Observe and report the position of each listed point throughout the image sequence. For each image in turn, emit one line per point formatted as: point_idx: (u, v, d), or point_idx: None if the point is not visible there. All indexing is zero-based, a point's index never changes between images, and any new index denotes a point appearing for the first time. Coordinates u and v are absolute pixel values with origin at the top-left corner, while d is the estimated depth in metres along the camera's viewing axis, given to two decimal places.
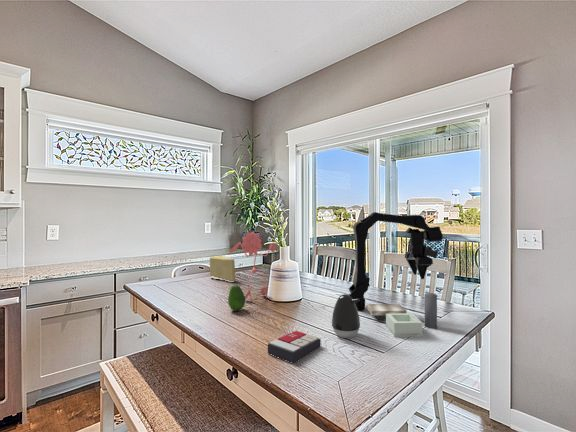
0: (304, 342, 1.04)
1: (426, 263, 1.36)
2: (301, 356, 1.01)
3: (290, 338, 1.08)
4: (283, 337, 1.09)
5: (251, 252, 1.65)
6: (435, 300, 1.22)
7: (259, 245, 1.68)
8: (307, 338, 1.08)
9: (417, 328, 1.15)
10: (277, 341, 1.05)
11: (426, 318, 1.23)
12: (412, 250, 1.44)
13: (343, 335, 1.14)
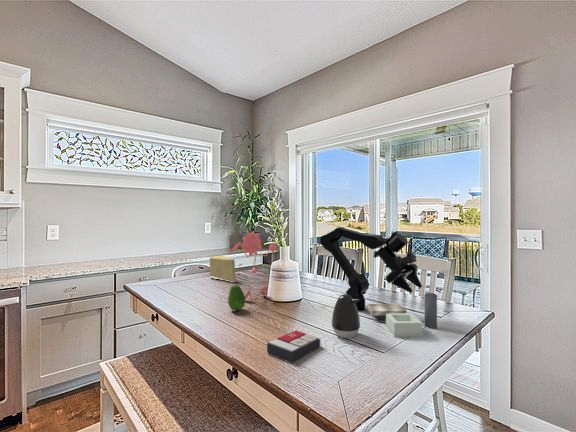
0: (303, 342, 1.05)
1: (393, 277, 1.25)
2: (300, 356, 1.01)
3: (290, 338, 1.08)
4: (283, 337, 1.09)
5: (251, 252, 1.65)
6: (435, 300, 1.22)
7: (259, 245, 1.68)
8: (307, 338, 1.08)
9: (417, 328, 1.15)
10: (276, 341, 1.06)
11: (426, 318, 1.23)
12: (390, 269, 1.34)
13: (343, 335, 1.14)
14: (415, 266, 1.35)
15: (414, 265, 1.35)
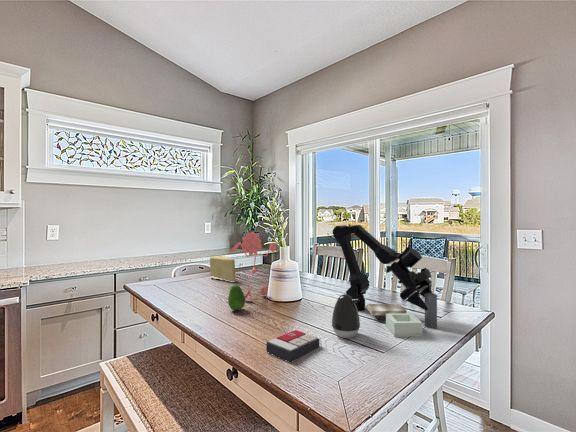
0: (302, 341, 1.05)
1: (407, 294, 1.21)
2: (299, 355, 1.01)
3: (289, 337, 1.08)
4: (282, 336, 1.09)
5: (251, 252, 1.65)
6: (435, 300, 1.22)
7: (259, 245, 1.68)
8: (306, 338, 1.08)
9: (417, 328, 1.15)
10: (276, 340, 1.06)
11: (426, 318, 1.23)
12: (404, 285, 1.30)
13: (343, 335, 1.14)
14: (429, 281, 1.31)
15: (428, 280, 1.31)
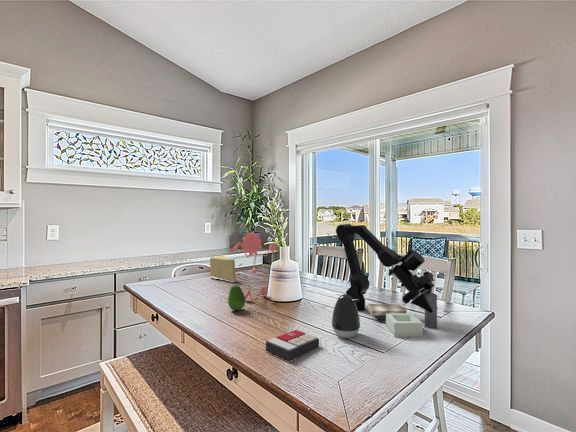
0: (301, 341, 1.05)
1: (410, 298, 1.20)
2: (297, 355, 1.01)
3: (289, 337, 1.09)
4: (282, 336, 1.10)
5: (251, 252, 1.65)
6: (435, 300, 1.22)
7: (259, 245, 1.68)
8: (305, 337, 1.08)
9: (417, 328, 1.15)
10: (275, 339, 1.07)
11: (426, 318, 1.23)
12: (406, 288, 1.30)
13: (343, 335, 1.14)
14: (432, 285, 1.30)
15: (431, 284, 1.31)
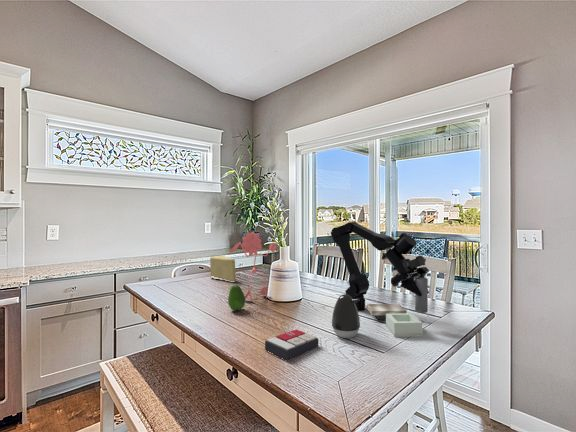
0: (300, 341, 1.05)
1: (397, 281, 1.19)
2: (296, 354, 1.02)
3: (288, 336, 1.09)
4: (281, 335, 1.10)
5: (251, 252, 1.65)
6: (425, 284, 1.20)
7: (259, 245, 1.68)
8: (305, 337, 1.09)
9: (417, 328, 1.15)
10: (274, 339, 1.07)
11: (416, 302, 1.22)
12: None
13: (343, 335, 1.14)
14: (426, 270, 1.28)
15: (425, 269, 1.28)
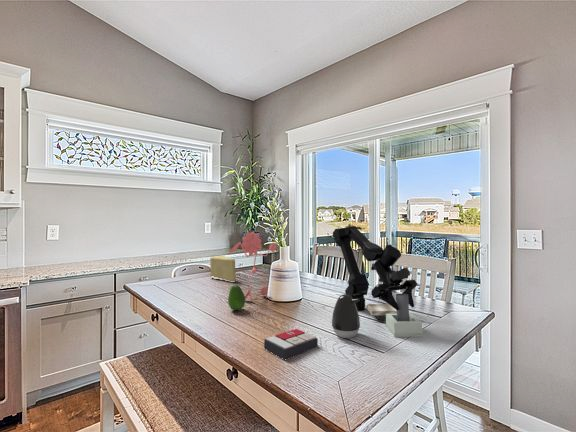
0: (299, 340, 1.06)
1: (376, 292, 1.20)
2: (294, 354, 1.02)
3: (287, 335, 1.10)
4: (281, 334, 1.11)
5: (251, 252, 1.65)
6: (404, 300, 1.18)
7: (259, 245, 1.68)
8: (304, 337, 1.09)
9: (417, 328, 1.15)
10: (273, 337, 1.08)
11: (397, 319, 1.20)
12: None
13: (343, 335, 1.14)
14: (413, 283, 1.25)
15: (412, 282, 1.25)
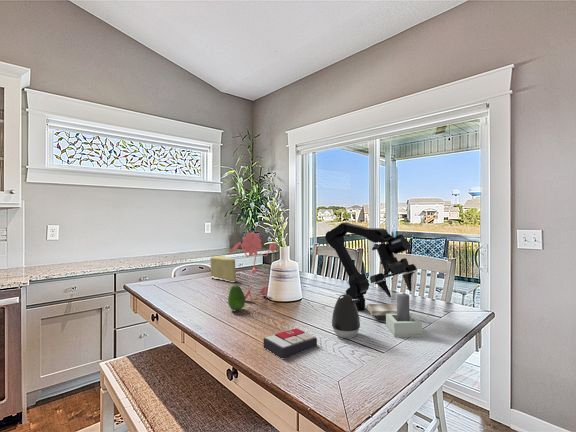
0: (298, 340, 1.06)
1: (373, 281, 1.31)
2: (292, 353, 1.03)
3: (287, 335, 1.10)
4: (280, 333, 1.12)
5: (251, 252, 1.65)
6: (405, 301, 1.18)
7: (259, 245, 1.68)
8: (303, 336, 1.09)
9: (417, 328, 1.15)
10: (273, 336, 1.09)
11: (397, 319, 1.20)
12: None
13: (343, 335, 1.14)
14: (412, 269, 1.31)
15: (411, 268, 1.31)
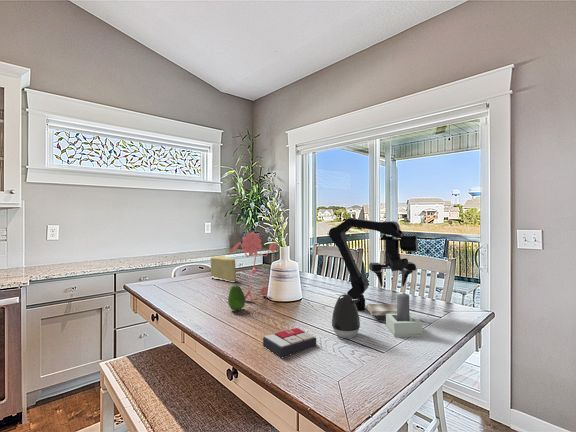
0: (297, 339, 1.07)
1: (370, 269, 1.39)
2: (291, 352, 1.03)
3: (286, 334, 1.11)
4: (280, 332, 1.12)
5: (251, 252, 1.65)
6: (405, 301, 1.18)
7: (259, 245, 1.68)
8: (302, 336, 1.10)
9: (417, 328, 1.15)
10: (272, 336, 1.10)
11: (397, 319, 1.20)
12: None
13: (343, 335, 1.14)
14: (411, 269, 1.36)
15: (411, 268, 1.36)
